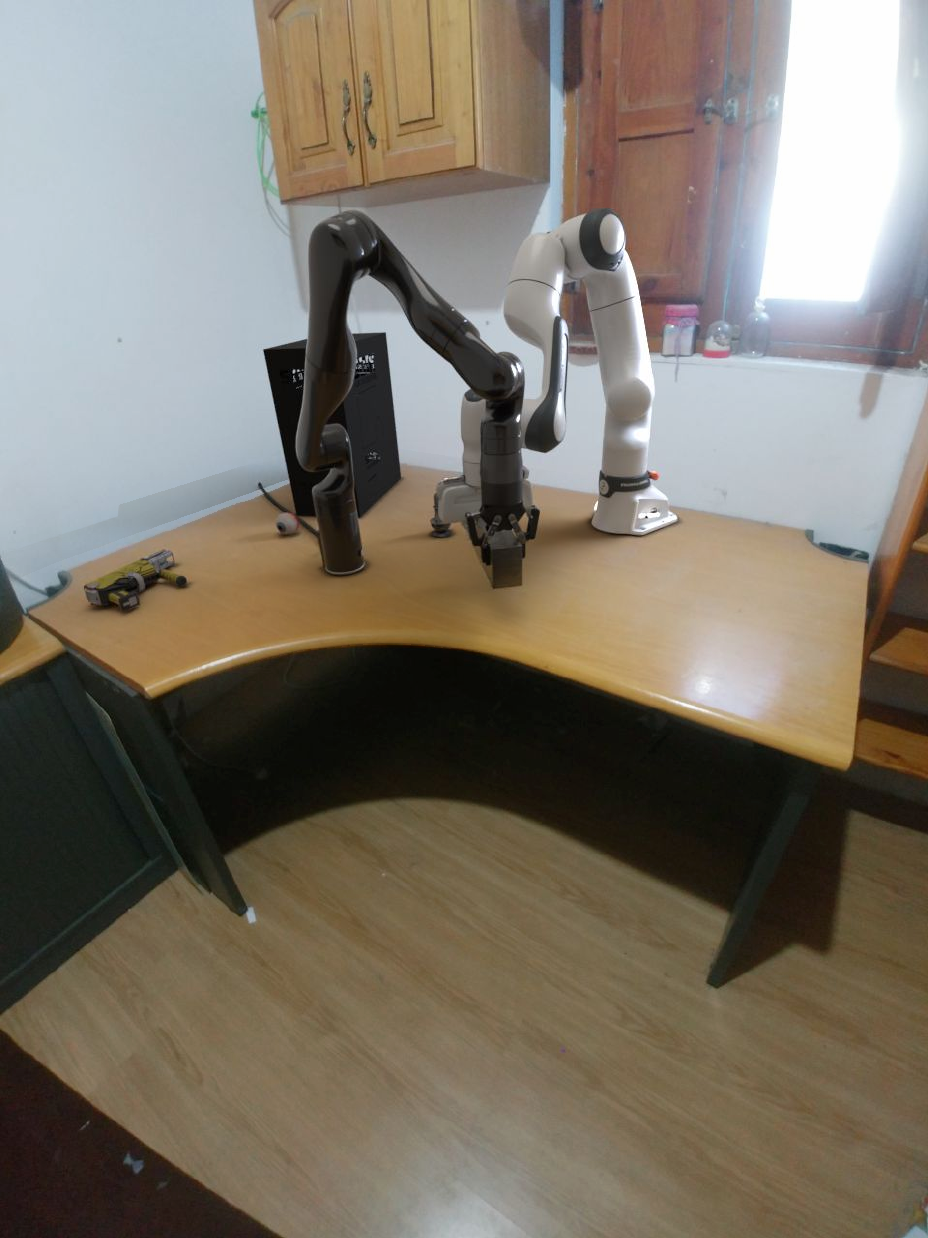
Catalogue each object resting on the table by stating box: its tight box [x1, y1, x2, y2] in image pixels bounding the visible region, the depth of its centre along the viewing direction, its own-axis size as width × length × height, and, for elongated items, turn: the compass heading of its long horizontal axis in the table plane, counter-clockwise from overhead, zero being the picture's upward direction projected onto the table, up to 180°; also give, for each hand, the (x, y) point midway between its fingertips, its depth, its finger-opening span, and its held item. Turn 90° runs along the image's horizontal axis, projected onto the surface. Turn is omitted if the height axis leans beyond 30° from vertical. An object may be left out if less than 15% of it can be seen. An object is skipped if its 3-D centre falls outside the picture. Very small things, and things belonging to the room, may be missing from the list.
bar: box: [471, 518, 523, 590], centre depth 122 cm, size 22×6×8 cm, turn 10°
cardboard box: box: [262, 331, 402, 518], centre depth 180 cm, size 38×20×45 cm, turn 167°
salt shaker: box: [429, 492, 453, 538], centre depth 157 cm, size 6×6×12 cm
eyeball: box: [275, 511, 300, 536], centre depth 163 cm, size 6×6×6 cm
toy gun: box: [83, 548, 188, 613], centre depth 139 cm, size 5×24×15 cm
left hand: (503, 561), depth 115 cm, fingers closed on bar, 5 cm apart
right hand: (486, 535), depth 129 cm, fingers closed on bar, 6 cm apart
